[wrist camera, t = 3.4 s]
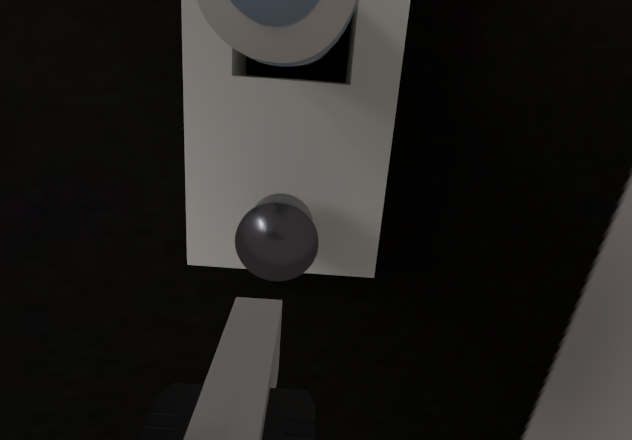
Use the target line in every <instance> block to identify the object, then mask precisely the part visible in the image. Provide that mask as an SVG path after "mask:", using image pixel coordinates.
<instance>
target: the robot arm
mask: <svg viewBox="0 0 632 440" xmlns="http://www.w3.org/2000/svg"><path fill="white" fill-rule="evenodd" d="M281 314H282V300H271V299H257V298H243V297H236V299H235V302H234V305H233V308H232V310H231V313H230V316H229V318H228V321H227V324H226V326H225V329H224V332H223V334H222V337H221V340H220V342H219V345H218V348H217V351H216V353H215V356H214V359H213V361H212V364H211V367H210V369H209V372H208V375H207V377H206V380H205V383H204V385H203V384H188V383H173V384H172V385H171V386H170V387H169V388H168V389H167V390H165V391H164V392H163V393H162V394H161V395H160V396H159V398H158V400H157V402H156V404H155V406H154V408H153V410H152V412H151V415H150V416H149V418H148V420H147V422H146V424H145V428H144V429H143V430H142V432H141V434H140V436H139V438H138V440H315V404H314V402H313V400H312V398H311V396H310V394H309V392H308V390H295V389H280V388H276V383H277V376H278V367H279V349H280V331H281Z"/></svg>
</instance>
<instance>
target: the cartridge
mask: <svg viewBox="0 0 632 440" xmlns="http://www.w3.org/2000/svg"><path fill="white" fill-rule="evenodd" d="M356 1H357V0H197V3H198V5H199V7H200V10H201V12H202V14H203V15H204V17H205V19H206V20H207V22H208V24H209V25H210V26H211V28H212V29H213V30H214V31H215V33H216V34H217V35H218V36H219V37H220V38H221V39H222V40H223V41H224V42H226V43H227V44H228V45H229V46H231V47H232V48H234V49H235V50H237V51H238V52H240V53H242V54H244V55H246V56H247V57H249V58H251V59H253V60H256V61H258V62H261V63H264V64H268V65H274V66H306V65H310V64H313V63H315V62H317V61H319V60H320V59H321V58H323V57H324V56H325V55H326V54H327V53H328V52H329V50H330V49H331V48H332V47H333V46H334V44H335V43H336V42H337V41H338V39H339V38H340V37H341V35H342V34H343V32H344V31H345V29H346V27H347V25H348V24H349V22H350V19H351V17H352V14H353V12H354V8H355V5H356Z"/></svg>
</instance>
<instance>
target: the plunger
mask: <svg viewBox="0 0 632 440" xmlns="http://www.w3.org/2000/svg"><path fill="white" fill-rule="evenodd" d="M235 248H236V252H237V255H238V257H239V259H240V261H241V262H242V264H243V265H244V266H245V267H246V268H247V269H248V270H249V271H250V272H251V273H253V274H254V275H256V276H258V277H260V278H263V279H266V280H270V281H286V280H290V279H293V278H296V277H297V276H299V275H301V274H302V273H304V272H305V271H306V270H307V269H308V268H309V267H310V266H311V265H312V263H313V262H314V260H315V258H316V255H317V252H318V233H317V229H316V226H315V224H314V222H313V218H312V215H311V212H310V210H309V209H308V207H307V206H306V205H305V204H304V203H303V202H302V201H301V200H300V199H298V198H296V197H295V196H292V195H289V194H283V193H278V194H272V195H269V196H266V197H265V198H263V199H261V200H260V201H259V202H258V203H257V204H256V205H255V207H253V208H252V209H251V210H249V211H248V212H247V213H246V214H245V215H244V217H243V218H242V220H241V221H240V223H239V225H238V227H237V230H236V234H235Z"/></svg>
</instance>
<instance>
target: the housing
mask: <svg viewBox="0 0 632 440" xmlns="http://www.w3.org/2000/svg"><path fill="white" fill-rule="evenodd" d="M409 8H410V0H357V1H356V5H355V8H354V12H353V14H352V17H351V28H350V39H349V49H348V60H347V71H346V82H345V83H344V82H331V81H318V80H306V79H293V78H280V77H268V76H255V75H246V55H244V54H242V53H240V52H238V51H237V50H235V49H234V48H232V47H231V46H229V45H228V44H227V43H226V42H224V41H223V40H222V39H221V38H220V37H219V36H218V35H217V34H216V33H215V31H214V30H213V29H212V28H211V26H210V25H209V24H208V22H207V20H206V19H205V17H204V15H203V14H202V12H201V10H200V7H199V5H198V3H197V0H181V10H182V54H183V99H184V143H185V187H186V232H187V265H199V266H213V267H227V268H242V269H247V268H246V267H245V266H244V265H243V264H242V262H241V261H240V259H239V257H238V255H237V252H236V248H235V234H236V230H237V227H238V225H239V223H240V221H241V220H242V218H243V217H244V215H245V214H246V213H247V212H248V211H249V210H251V209H252V208H253V207H255V205H256V204H257V203H258V202H259V201H260V200H261V199H263V198H265V197H266V196H269V195H272V194H278V193H283V194H289V195H292V196H295V197H296V198H298V199H300V200H301V201H302V202H303V203H304V204H305V205H306V206H307V207H308V209H309V210H310V212H311V215H312V218H313V222H314V224H315V226H316V229H317V233H318V252H317V255H316V258H315V260H314V262H313V263H312V265H311V266H310V267H309V268H308V269H307V270H306V271H305V272H304V273H312V274H326V275H340V276H354V277H369V278H374V274H375V267H376V259H377V251H378V244H379V236H380V228H381V221H382V213H383V206H384V198H385V190H386V183H387V175H388V168H389V160H390V152H391V145H392V137H393V129H394V122H395V114H396V107H397V99H398V91H399V84H400V76H401V69H402V61H403V53H404V46H405V38H406V30H407V23H408V15H409Z"/></svg>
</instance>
